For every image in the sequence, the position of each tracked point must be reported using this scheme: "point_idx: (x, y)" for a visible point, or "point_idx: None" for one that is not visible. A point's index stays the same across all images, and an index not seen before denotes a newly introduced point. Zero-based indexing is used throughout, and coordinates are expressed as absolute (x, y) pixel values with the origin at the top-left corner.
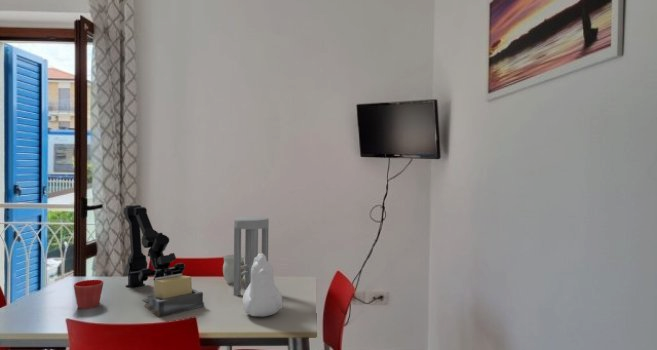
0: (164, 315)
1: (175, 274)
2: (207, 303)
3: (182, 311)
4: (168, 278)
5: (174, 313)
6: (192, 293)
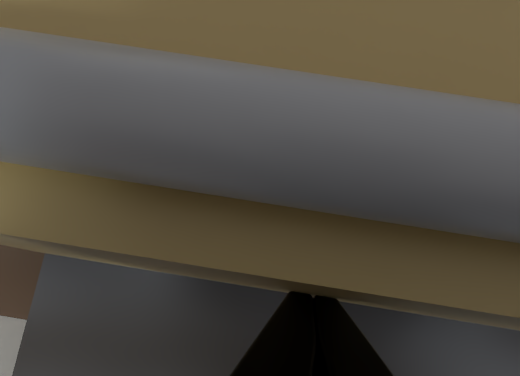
0: None
1: (11, 50)
2: None
3: None
4: (489, 55)
5: None
6: None
